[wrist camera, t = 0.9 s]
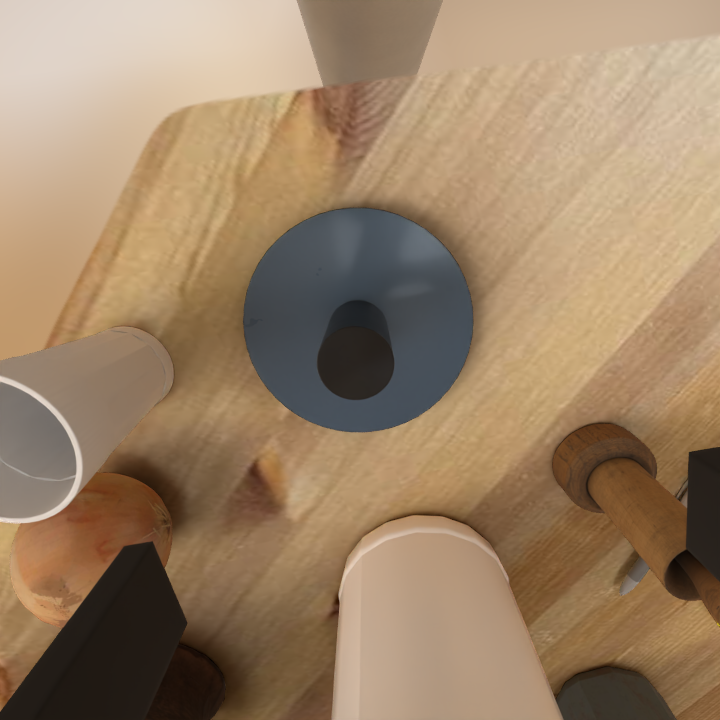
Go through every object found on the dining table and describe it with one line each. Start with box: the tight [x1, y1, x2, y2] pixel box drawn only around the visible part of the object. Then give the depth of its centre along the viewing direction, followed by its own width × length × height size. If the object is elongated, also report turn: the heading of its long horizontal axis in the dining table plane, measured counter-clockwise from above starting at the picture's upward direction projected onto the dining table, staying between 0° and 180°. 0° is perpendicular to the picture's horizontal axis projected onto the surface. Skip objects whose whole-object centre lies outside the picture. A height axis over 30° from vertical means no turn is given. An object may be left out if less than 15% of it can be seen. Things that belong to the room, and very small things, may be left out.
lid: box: [243, 208, 473, 432], centre depth 26 cm, size 16×16×9 cm
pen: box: [619, 480, 688, 596], centre depth 34 cm, size 1×14×1 cm, turn 159°
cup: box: [0, 326, 174, 523], centre depth 26 cm, size 8×8×12 cm
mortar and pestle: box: [553, 424, 720, 625], centre depth 25 cm, size 7×6×18 cm
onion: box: [10, 473, 172, 628], centre depth 30 cm, size 10×10×10 cm
